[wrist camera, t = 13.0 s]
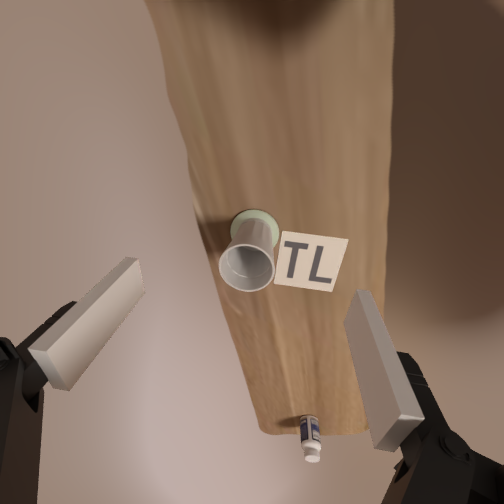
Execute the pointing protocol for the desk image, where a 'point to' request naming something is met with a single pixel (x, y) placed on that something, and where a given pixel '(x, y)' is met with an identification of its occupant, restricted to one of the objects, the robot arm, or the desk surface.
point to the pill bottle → (310, 438)
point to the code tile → (309, 260)
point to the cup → (249, 257)
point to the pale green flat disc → (255, 214)
